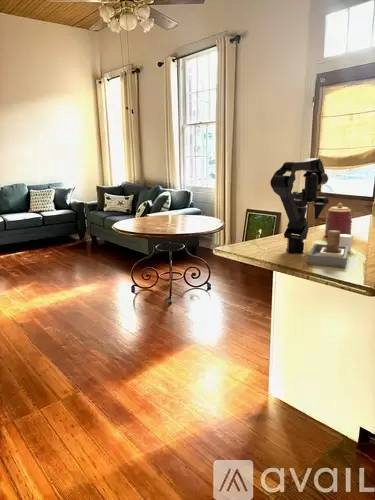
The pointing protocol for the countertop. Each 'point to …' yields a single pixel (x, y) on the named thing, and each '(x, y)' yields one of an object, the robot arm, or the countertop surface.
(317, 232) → the countertop surface
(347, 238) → the white cube
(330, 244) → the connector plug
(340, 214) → the canister
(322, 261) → the walled box
